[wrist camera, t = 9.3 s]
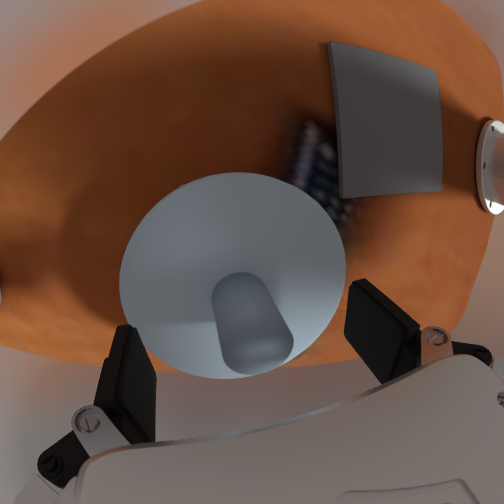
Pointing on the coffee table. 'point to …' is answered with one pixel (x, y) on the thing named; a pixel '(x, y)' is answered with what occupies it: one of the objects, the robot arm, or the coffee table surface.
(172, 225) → the lid
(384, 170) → the mat
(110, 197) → the coffee table surface
